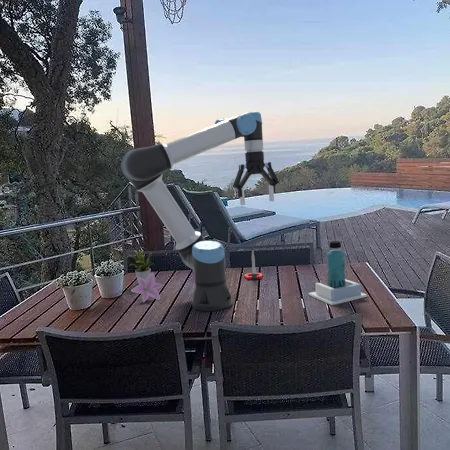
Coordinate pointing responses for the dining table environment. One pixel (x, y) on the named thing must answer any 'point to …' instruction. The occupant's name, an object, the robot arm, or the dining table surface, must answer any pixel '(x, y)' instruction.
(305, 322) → the dining table surface
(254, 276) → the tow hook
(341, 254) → the beverage bottle
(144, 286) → the lily
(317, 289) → the stop cradle
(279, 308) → the dining table surface
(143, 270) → the house plant
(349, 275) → the dining table surface
